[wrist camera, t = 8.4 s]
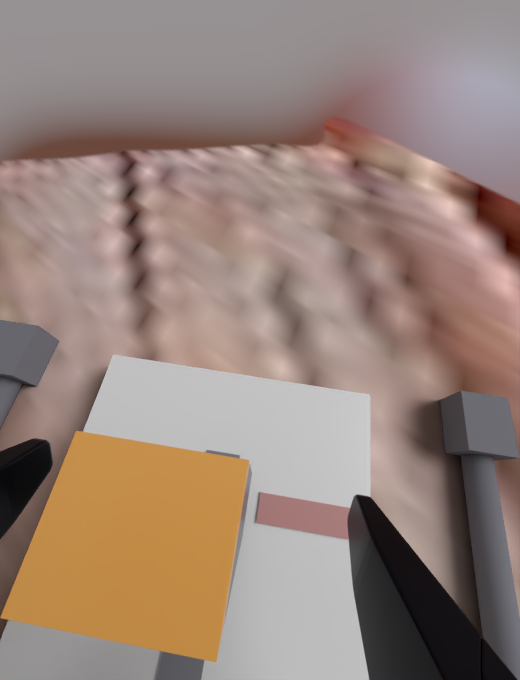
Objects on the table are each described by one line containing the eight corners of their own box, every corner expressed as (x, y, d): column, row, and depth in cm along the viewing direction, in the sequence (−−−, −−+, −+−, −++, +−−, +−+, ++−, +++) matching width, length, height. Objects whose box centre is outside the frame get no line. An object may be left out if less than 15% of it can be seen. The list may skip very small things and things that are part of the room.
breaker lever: (242, 537, 13) (216, 662, 4) (172, 524, 13) (-1, 618, 4) (252, 473, 14) (248, 460, 5) (187, 462, 14) (76, 430, 5)
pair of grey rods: (603, 1166, 8) (697, 1353, 7) (-301, 920, 10) (-426, 1019, 8) (481, 406, 18) (507, 397, 16) (23, 335, 19) (-2, 319, 17)
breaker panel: (347, 1051, 9) (372, 1201, 7) (-83, 937, 10) (-164, 1047, 8) (358, 403, 18) (370, 394, 16) (127, 367, 18) (112, 353, 16)
